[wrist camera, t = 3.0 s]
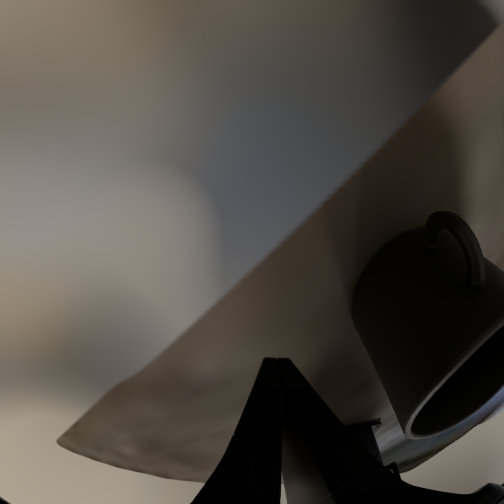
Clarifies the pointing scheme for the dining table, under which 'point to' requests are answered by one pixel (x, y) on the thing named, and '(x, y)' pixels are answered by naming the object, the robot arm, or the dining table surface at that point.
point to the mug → (433, 324)
